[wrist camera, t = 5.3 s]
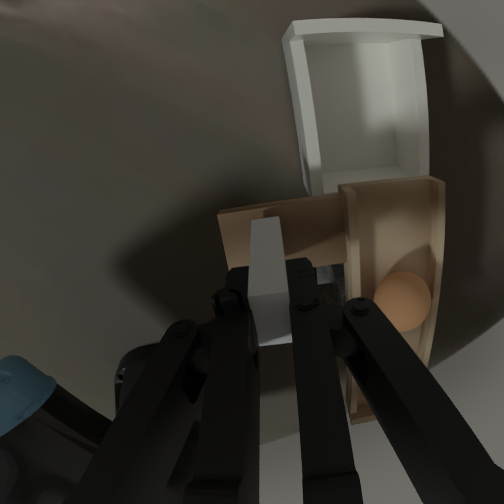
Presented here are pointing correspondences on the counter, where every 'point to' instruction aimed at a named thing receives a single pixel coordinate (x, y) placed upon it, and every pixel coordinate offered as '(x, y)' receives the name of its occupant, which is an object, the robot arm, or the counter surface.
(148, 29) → the counter surface
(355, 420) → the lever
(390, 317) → the ball
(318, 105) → the grey open bin
